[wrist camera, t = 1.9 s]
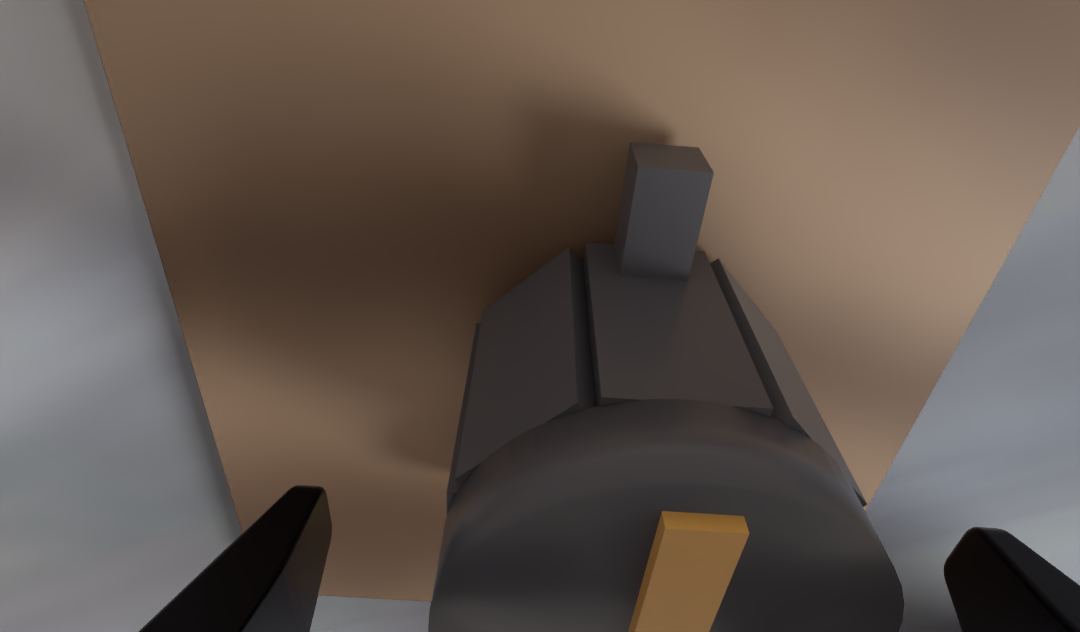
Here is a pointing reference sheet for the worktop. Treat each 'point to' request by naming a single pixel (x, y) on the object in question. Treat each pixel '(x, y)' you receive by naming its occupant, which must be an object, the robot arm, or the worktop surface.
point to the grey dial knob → (649, 450)
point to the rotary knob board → (559, 205)
